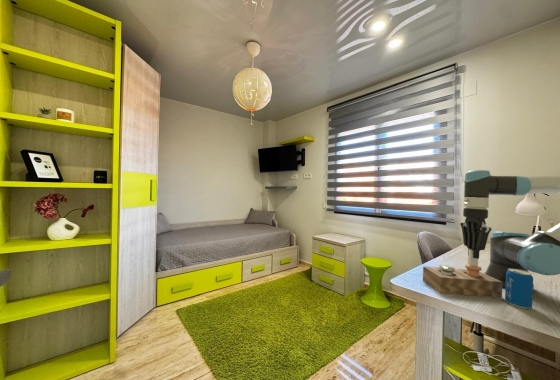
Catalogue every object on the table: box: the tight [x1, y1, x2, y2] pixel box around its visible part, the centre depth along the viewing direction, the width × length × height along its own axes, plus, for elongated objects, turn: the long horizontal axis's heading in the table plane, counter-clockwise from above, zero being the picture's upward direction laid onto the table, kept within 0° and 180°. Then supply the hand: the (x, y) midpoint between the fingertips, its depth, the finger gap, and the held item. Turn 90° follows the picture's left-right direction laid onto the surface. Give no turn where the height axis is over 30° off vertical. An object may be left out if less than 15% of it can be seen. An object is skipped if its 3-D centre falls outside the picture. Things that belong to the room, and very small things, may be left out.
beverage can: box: [504, 269, 534, 310], centre depth 76 cm, size 6×6×12 cm
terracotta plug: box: [464, 263, 482, 277], centre depth 88 cm, size 5×5×7 cm
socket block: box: [422, 265, 503, 299], centre depth 88 cm, size 22×12×6 cm, turn 84°
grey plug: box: [438, 264, 456, 275], centre depth 89 cm, size 5×5×7 cm
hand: (473, 265), depth 88 cm, fingers closed
